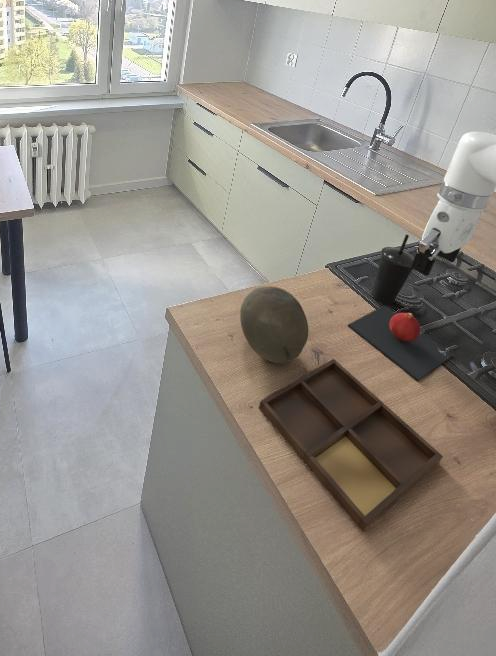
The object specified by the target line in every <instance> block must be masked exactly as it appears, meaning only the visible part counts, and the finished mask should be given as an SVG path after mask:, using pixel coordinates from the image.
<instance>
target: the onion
mask: <svg viewBox="0 0 496 656" xmlns="http://www.w3.org/2000/svg"><path fill="white" fill-rule="evenodd" d="M389 327H390V330H391V332H392V333H393V335H394V336H395V337H396V338H397V339H398V340H400V341H408V342H409V341H414V340H416V339H417V338H418V337H419V335H420V331H421V325H420V323H419V321H418V319H417V318H416V317H415V316H414V315H413V313H411V312H399V313H395V315H394V316H393V317H392V318H391V319H390V322H389Z"/></svg>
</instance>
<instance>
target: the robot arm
mask: <svg viewBox="0 0 496 656" xmlns="http://www.w3.org/2000/svg"><path fill="white" fill-rule="evenodd" d="M495 190H496V134H494V133H491V132H485V131H470V132H466V133H463V135H462V136H461V138H460V139H459V141H458V144H457V145H456V148H455V150H454V154H453V156H452V159H451V161H450V163H449V166H448V168H447V170H446V173H445V175H444V178H443V180H442V182H441V184H440V187H439V189H438V191H437V197H438V199H439V200H438V202H437V203H436V205H435V207H434V210H433V211H432V213H431V215H430V217H429V219H428V221H427V223H426V226H425V228H424V230H423V233H422V235H421V239H420V241H419V242H418V246H417V249H416V253H415V256H414V260H413V263H412V265H411V267H412V268H413V269H412V270H414V271H416V272H418V273H420V274H422V275H423V276H424V277H428V276H429V275H430V274H431V271H432V269H433V267H434V264H435V262H436V259H435V258H436V256H438V257H440V258H442V259H444V260H446V261H447V262H450V263H454V262H455V261H456V260H457V257H458V255H459V254H460V251H461V249H462V247H464V246H466V245H468V244H469V243H470V242H471V240H472V238H473V236H474V233H475V232H476V229H477V227H478V224H479V221H480V218H481V216H482V212H484V211H485V210H486V208H487V206H488V204H489V202H490V200H491V199H492V196H493V194H494V192H495ZM437 244H438V245H437ZM430 247H431V248H432V249H433V250H432V252H431V250H430Z"/></svg>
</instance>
